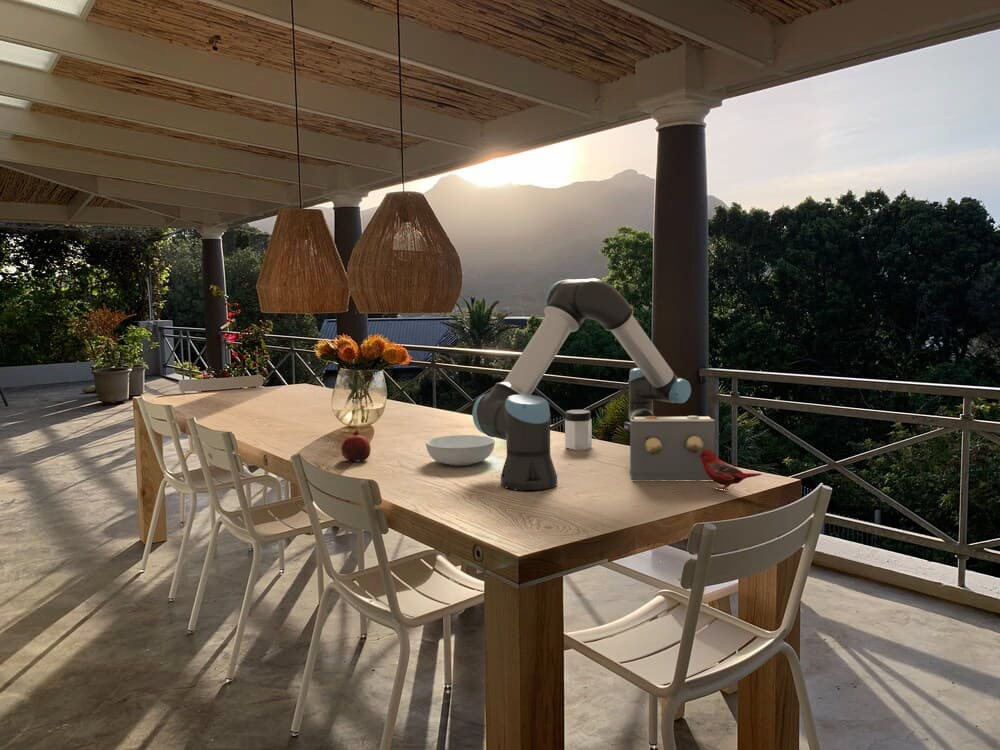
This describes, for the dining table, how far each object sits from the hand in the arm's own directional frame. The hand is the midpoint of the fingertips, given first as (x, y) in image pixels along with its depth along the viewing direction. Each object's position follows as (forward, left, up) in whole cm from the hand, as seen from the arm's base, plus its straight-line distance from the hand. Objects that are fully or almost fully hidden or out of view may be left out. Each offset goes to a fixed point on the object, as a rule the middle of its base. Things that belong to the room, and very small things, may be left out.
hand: (650, 437), depth 201 cm
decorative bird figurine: (-7, -25, -10) cm, 28 cm away
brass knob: (-6, -3, -2) cm, 7 cm away
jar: (+18, +35, -10) cm, 41 cm away
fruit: (-35, +83, -10) cm, 90 cm away
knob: (+2, -11, -2) cm, 12 cm away
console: (-2, -7, -10) cm, 13 cm away
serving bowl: (-19, +54, -11) cm, 58 cm away
